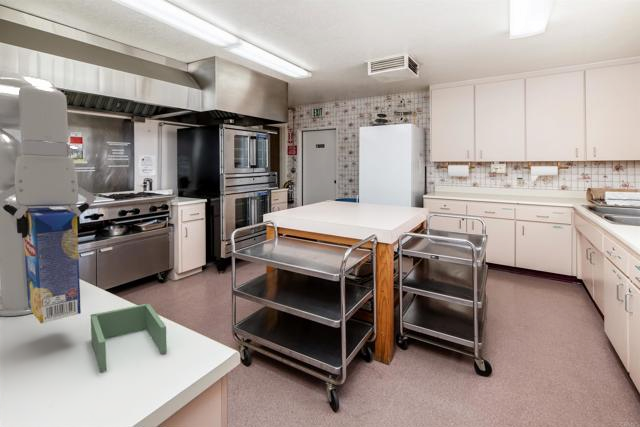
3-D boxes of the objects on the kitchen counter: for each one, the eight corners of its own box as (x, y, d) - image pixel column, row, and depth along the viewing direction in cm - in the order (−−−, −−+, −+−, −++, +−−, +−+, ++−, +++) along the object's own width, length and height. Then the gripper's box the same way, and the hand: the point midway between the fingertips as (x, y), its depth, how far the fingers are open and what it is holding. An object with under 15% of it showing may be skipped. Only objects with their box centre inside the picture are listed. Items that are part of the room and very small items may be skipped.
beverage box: (65, 298, 80) (61, 206, 77) (80, 313, 73) (76, 213, 70) (28, 306, 75) (21, 208, 72) (40, 323, 68) (34, 216, 65)
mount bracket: (91, 339, 77) (90, 314, 76) (149, 326, 84) (149, 303, 83) (100, 372, 65) (99, 342, 64) (166, 352, 73) (166, 326, 72)
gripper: (94, 153, 77) (97, 228, 80) (-12, 146, 66) (-5, 234, 69) (98, 154, 72) (101, 235, 74) (-17, 147, 61) (-9, 242, 63)
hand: (50, 234), depth 72 cm, fingers closed on beverage box, 7 cm apart
